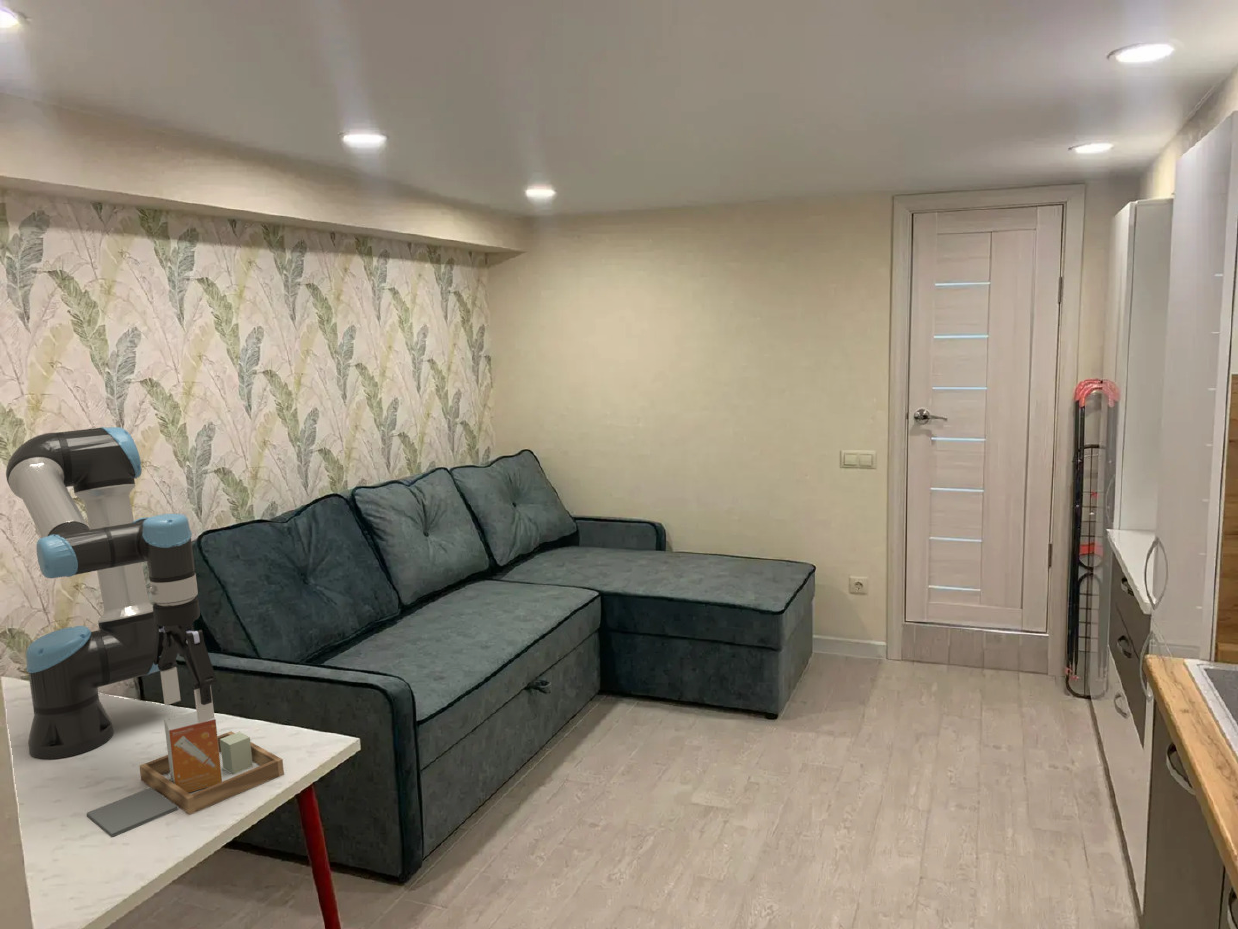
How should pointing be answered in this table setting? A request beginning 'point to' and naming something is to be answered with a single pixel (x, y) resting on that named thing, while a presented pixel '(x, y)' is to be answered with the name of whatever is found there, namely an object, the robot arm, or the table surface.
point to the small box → (192, 752)
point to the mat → (131, 811)
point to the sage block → (236, 752)
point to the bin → (217, 792)
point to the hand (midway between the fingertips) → (189, 711)
